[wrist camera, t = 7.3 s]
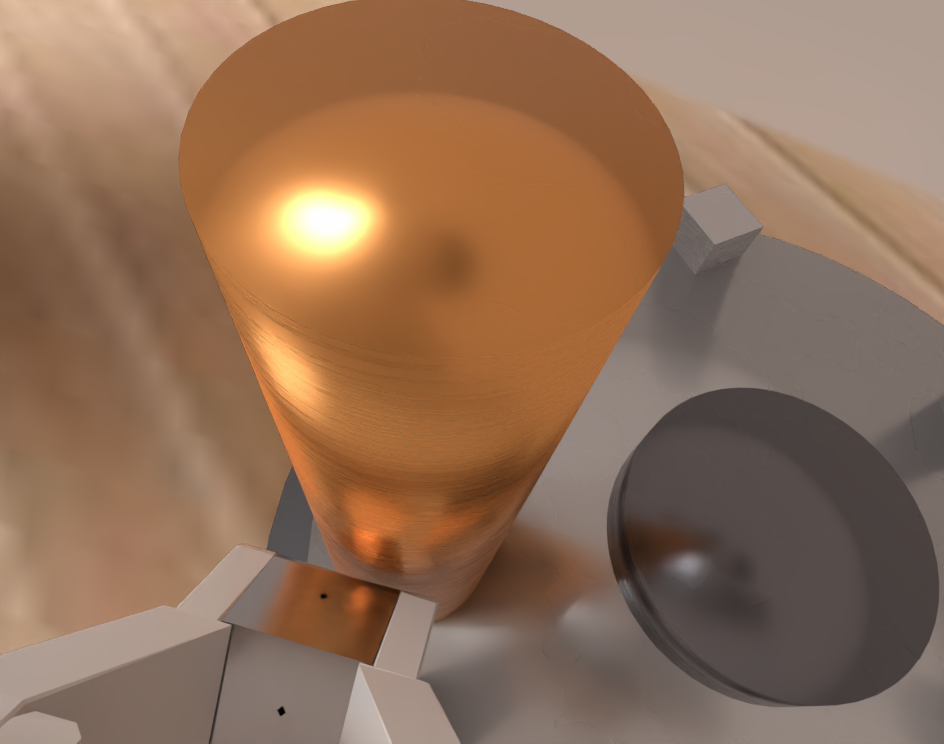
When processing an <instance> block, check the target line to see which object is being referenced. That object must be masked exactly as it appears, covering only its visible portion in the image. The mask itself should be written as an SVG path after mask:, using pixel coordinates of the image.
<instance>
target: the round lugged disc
mask: <svg viewBox="0 0 944 744" xmlns="http://www.w3.org/2000/svg"><path fill="white" fill-rule="evenodd" d="M179 170H180V183H181V188H182V191H183V195H184V198H185V202H186V206H187V209H188V212H189V214H190V217H191V219H192V222H193V224H194V227H195V229H196V231H197V234H198V236H199V239H200V241H201V244H202V246H203V248H204V251H205V253H206V256H207V258H208V261H209V263H210V265H211V268H212V270H213V273H214V275H215V278H216V280H217V283H218V285H219V287H220V290H221V292H222V295H223V297H224V300H225V302H226V304H227V307H228V309H229V312H230V314H231V317H232V319H233V321H234V324H235V326H236V329H237V331H238V334H239V336H240V338H241V341H242V343H243V346H244V348H245V351H246V353H247V355H248V358H249V360H250V363H251V365H252V368H253V370H254V373H255V375H256V377H257V380H258V382H259V385H260V387H261V390H262V392H263V394H264V397H265V399H266V402H267V404H268V407H269V409H270V411H271V414H272V416H273V419H274V421H275V424H276V426H277V428H278V431H279V433H280V436H281V438H282V441H283V443H284V445H285V448H286V450H287V453H288V455H289V458H290V460H291V463H292V465H293V467H294V470H295V472H296V475H297V477H298V480H299V482H300V484H301V487H302V489H303V492H304V494H305V497H306V499H307V501H308V504H309V506H310V509H311V511H312V514H313V520H312V528H311V537H310V545H309V554H308V562H307V563H310V564H313V565H316V566H319V567H323V568H326V569H329V570H332V571H335V572H339V573H342V574H345V575H348V576H349V577H353V578H356V579H360V580H364V581H368V582H372V583H376V584H379V585H383V586H387V587H391V588H395V589H399V590H401V592H402V591H408V592H412V593H416V594H420V595H424V596H428V597H432V598H436V599H437V600H438V607H437V611H436V615H435V618H434V622H433V626H432V630H431V634H430V638H429V641H428V645H427V649H426V653H425V657H424V661H423V665H422V668H421V672H420V676H419V680H420V681H424V682H427V683H429V684H430V685H431V687H432V689H433V691H434V693H435V695H436V697H437V699H438V700H439V702H440V704H441V706H442V708H443V710H444V712H445V714H446V716H447V718H448V719H449V721H450V723H451V725H452V727H453V729H454V731H455V733H456V735H457V737H458V738H459V740H460V742H461V744H944V325H942V324H941V323H939V322H938V321H936V320H935V319H933V318H932V317H931V316H929V315H928V314H926V313H925V312H923V311H922V310H920V309H919V308H918V307H916V306H915V305H913V304H912V303H910V302H909V301H907V300H906V299H904V298H903V297H901V296H900V295H898V294H896V293H894V292H893V291H891V290H889V289H887V288H886V287H884V286H882V285H880V284H879V283H877V282H875V281H873V280H872V279H870V278H868V277H866V276H865V275H863V274H861V273H859V272H857V271H855V270H852V269H850V268H848V267H846V266H844V265H842V264H840V263H837V262H835V261H833V260H831V259H829V258H827V257H825V256H822V255H820V254H817V253H815V252H812V251H809V250H806V249H804V248H801V247H798V246H795V245H793V244H790V243H787V242H784V241H782V240H779V239H775V238H771V237H767V236H764V235H760V234H759V232H760V231H761V229H762V228H763V226H762V224H761V223H760V222H759V221H758V220H757V219H756V218H755V216H754V215H753V214H752V213H751V212H750V211H749V210H748V208H747V207H746V206H745V205H744V204H743V203H742V202H741V201H740V199H739V198H738V197H737V196H736V195H735V194H734V193H733V191H732V190H731V189H730V188H729V187H728V186H727V185H726V184H723V185H720V186H717V187H714V188H711V189H708V190H705V191H702V192H699V193H696V194H693V195H691V196H688V197H685V198H684V180H683V170H682V166H681V162H680V157H679V153H678V150H677V147H676V145H675V142H674V140H673V137H672V135H671V132H670V130H669V128H668V126H667V125H666V123H665V121H664V119H663V118H662V116H661V114H660V113H659V111H658V109H657V108H656V107H655V105H654V104H653V103H652V101H651V100H650V99H649V98H648V96H647V95H646V94H645V92H644V91H643V90H642V89H641V88H640V87H639V86H638V85H637V84H636V83H635V82H634V81H633V80H632V79H631V78H630V77H629V76H628V75H627V74H626V73H625V72H624V71H623V70H622V69H621V68H619V67H618V66H617V65H616V64H614V63H613V62H612V61H611V60H610V59H608V58H607V57H606V56H604V55H603V54H601V53H600V52H598V51H597V50H595V49H594V48H592V47H591V46H589V45H587V44H586V43H585V42H583V41H581V40H579V39H577V38H576V37H574V36H572V35H570V34H568V33H567V32H565V31H563V30H561V29H559V28H556V27H554V26H552V25H549V24H547V23H545V22H543V21H540V20H538V19H535V18H532V17H529V16H526V15H523V14H521V13H518V12H515V11H512V10H508V9H504V8H500V7H496V6H492V5H488V4H484V3H478V2H473V1H467V0H355V1H349V2H344V3H340V4H335V5H331V6H327V7H323V8H320V9H317V10H314V11H310V12H307V13H304V14H301V15H298V16H296V17H294V18H291V19H289V20H287V21H285V22H282V23H280V24H278V25H276V26H274V27H272V28H270V29H268V30H267V31H265V32H263V33H261V34H260V35H258V36H256V37H254V38H253V39H251V40H250V41H249V42H247V43H246V44H245V45H243V46H242V47H241V48H239V49H238V50H237V51H235V52H234V53H233V54H231V55H230V56H229V57H228V58H227V59H226V60H225V61H224V62H223V63H222V64H221V65H220V66H219V67H218V68H217V69H216V70H215V71H214V72H213V74H212V75H211V76H210V78H209V79H208V80H207V82H206V83H205V84H204V86H203V87H202V88H201V90H200V91H199V93H198V95H197V97H196V99H195V101H194V103H193V104H192V106H191V108H190V110H189V112H188V115H187V119H186V122H185V125H184V128H183V131H182V134H181V143H180V151H179Z"/></svg>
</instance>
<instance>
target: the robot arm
mask: <svg viewBox="0 0 944 744" xmlns="http://www.w3.org/2000/svg"><path fill="white" fill-rule="evenodd" d="M437 607H438V600H437V599H436V598H432V597H428V596H424V595H420V594H416V593H412V592H408V591H402V592H401V590H399V589H395V588H391V587H387V586H383V585H379V584H376V583H372V582H368V581H364V580H360V579H356V578H353V577H349V576H348V575H345V574H342V573H339V572H335V571H332V570H329V569H326V568H323V567H319V566H316V565H313V564H310V563H307V562H304V561H300V560H297V559H294V558H291V557H288V556H284V555H281V554H278V555H277V554H276V552H272V551H269V550H265V549H261V548H258V547H254V546H251V545H247V544H240V545H237V546H236V547H235V548H234V549H233V550H232V551H231V552H230V553H229V554H228V555H227V556H226V557H225V558H224V559H223V560H222V561H221V562H220V563H219V564H218V565H217V566H216V567H215V568H214V569H213V570H212V571H211V572H210V573H209V574H208V575H207V576H206V577H205V579H204V580H203V581H202V582H201V583H200V584H199V585H198V586H197V587H196V588H195V589H194V590H193V591H192V592H191V593H190V594H189V595H188V596H187V597H186V598H185V599H184V600H183V601H182V602H181V603H180V604H179V605H178V606H177V607H176V608H173V607H169V606H166V605H163V606H160V607H157V608H153V609H150V610H147V611H143V612H140V613H137V614H133V615H130V616H127V617H123V618H120V619H117V620H113V621H110V622H107V623H103V624H100V625H97V626H93V627H90V628H87V629H84V630H80V631H77V632H74V633H70V634H67V635H64V636H60V637H57V638H54V639H50V640H47V641H44V642H40V643H37V644H34V645H30V646H27V647H24V648H20V649H17V650H14V651H10V652H7V653H4V654H1V655H0V744H461V742H460V740H459V738H458V737H457V735H456V733H455V731H454V729H453V727H452V725H451V723H450V721H449V719H448V718H447V716H446V714H445V712H444V710H443V708H442V706H441V704H440V702H439V700H438V699H437V697H436V695H435V693H434V691H433V689H432V687H431V685H430V684H429V683H427V682H424V681H420V680H419V676H420V672H421V668H422V665H423V661H424V657H425V653H426V649H427V645H428V641H429V638H430V634H431V630H432V626H433V622H434V618H435V615H436V611H437Z"/></svg>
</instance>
